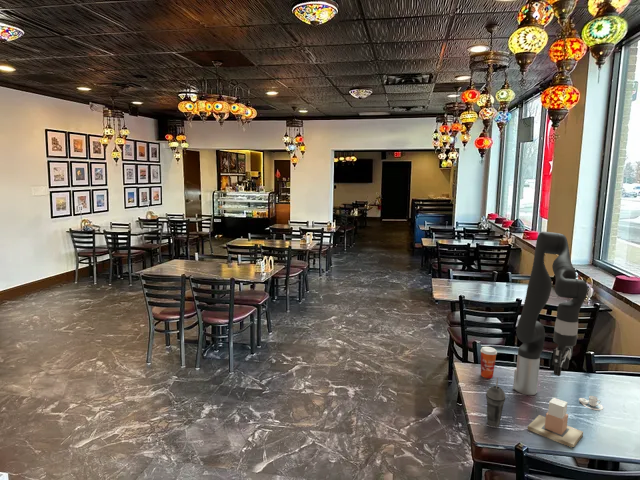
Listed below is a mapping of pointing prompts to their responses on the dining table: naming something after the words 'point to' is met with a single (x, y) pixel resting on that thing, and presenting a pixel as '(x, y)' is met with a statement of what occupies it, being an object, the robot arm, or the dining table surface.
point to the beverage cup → (494, 404)
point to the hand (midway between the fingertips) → (560, 371)
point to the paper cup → (487, 361)
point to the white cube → (557, 408)
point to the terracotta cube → (556, 423)
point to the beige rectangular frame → (567, 438)
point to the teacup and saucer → (591, 402)
